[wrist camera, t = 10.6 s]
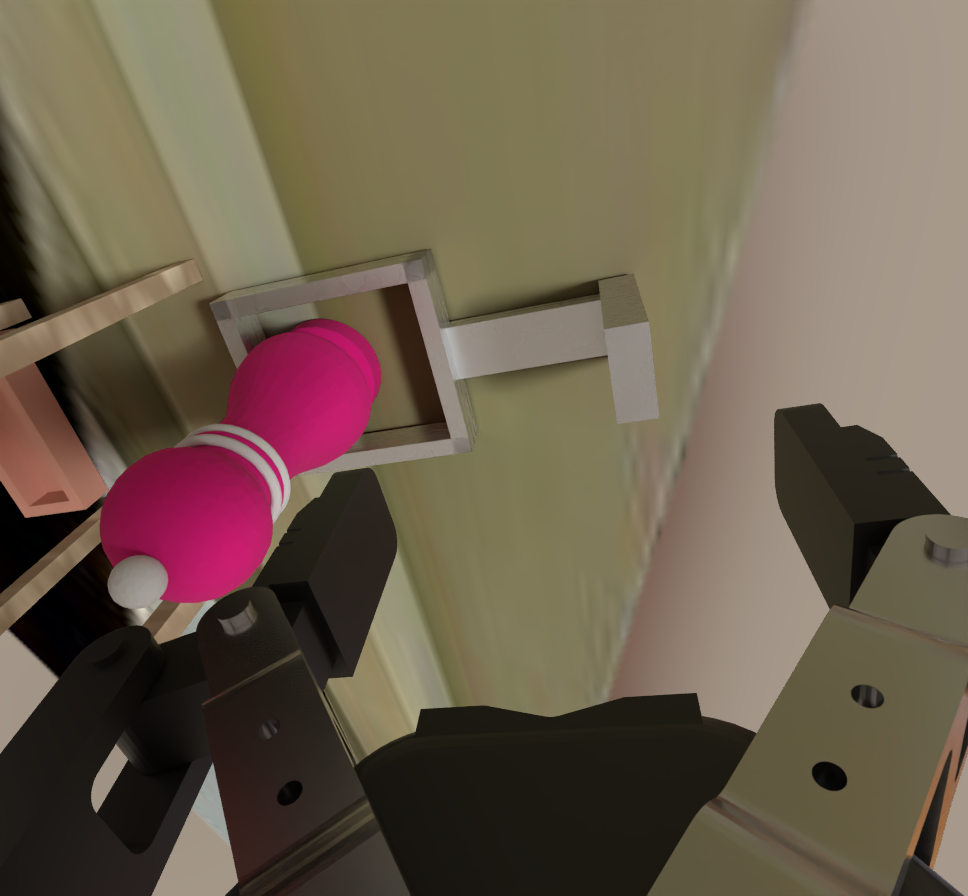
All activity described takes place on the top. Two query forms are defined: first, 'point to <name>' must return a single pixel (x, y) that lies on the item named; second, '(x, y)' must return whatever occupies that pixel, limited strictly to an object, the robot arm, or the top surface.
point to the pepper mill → (237, 468)
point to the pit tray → (42, 449)
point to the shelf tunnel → (42, 340)
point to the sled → (466, 346)
